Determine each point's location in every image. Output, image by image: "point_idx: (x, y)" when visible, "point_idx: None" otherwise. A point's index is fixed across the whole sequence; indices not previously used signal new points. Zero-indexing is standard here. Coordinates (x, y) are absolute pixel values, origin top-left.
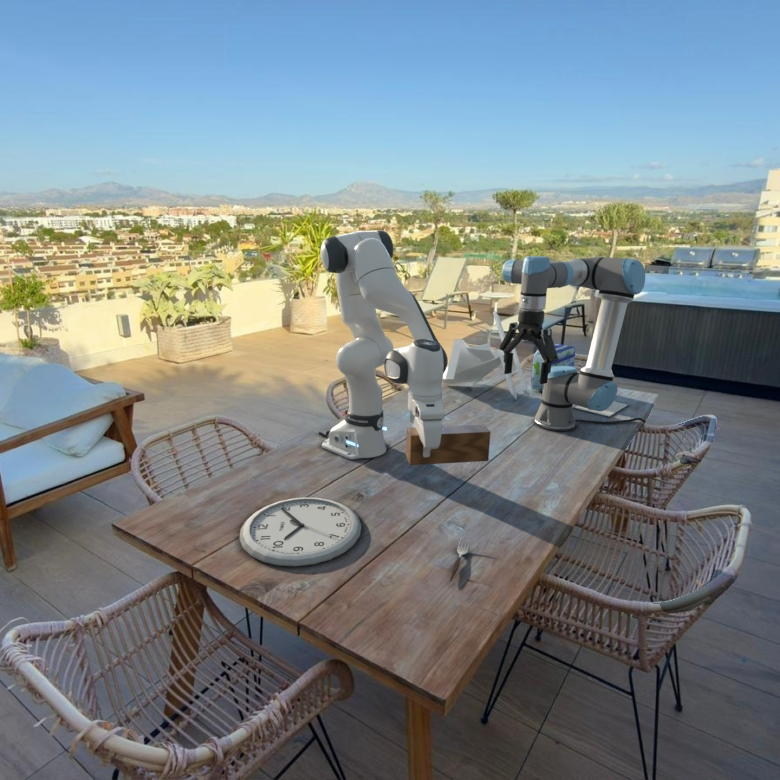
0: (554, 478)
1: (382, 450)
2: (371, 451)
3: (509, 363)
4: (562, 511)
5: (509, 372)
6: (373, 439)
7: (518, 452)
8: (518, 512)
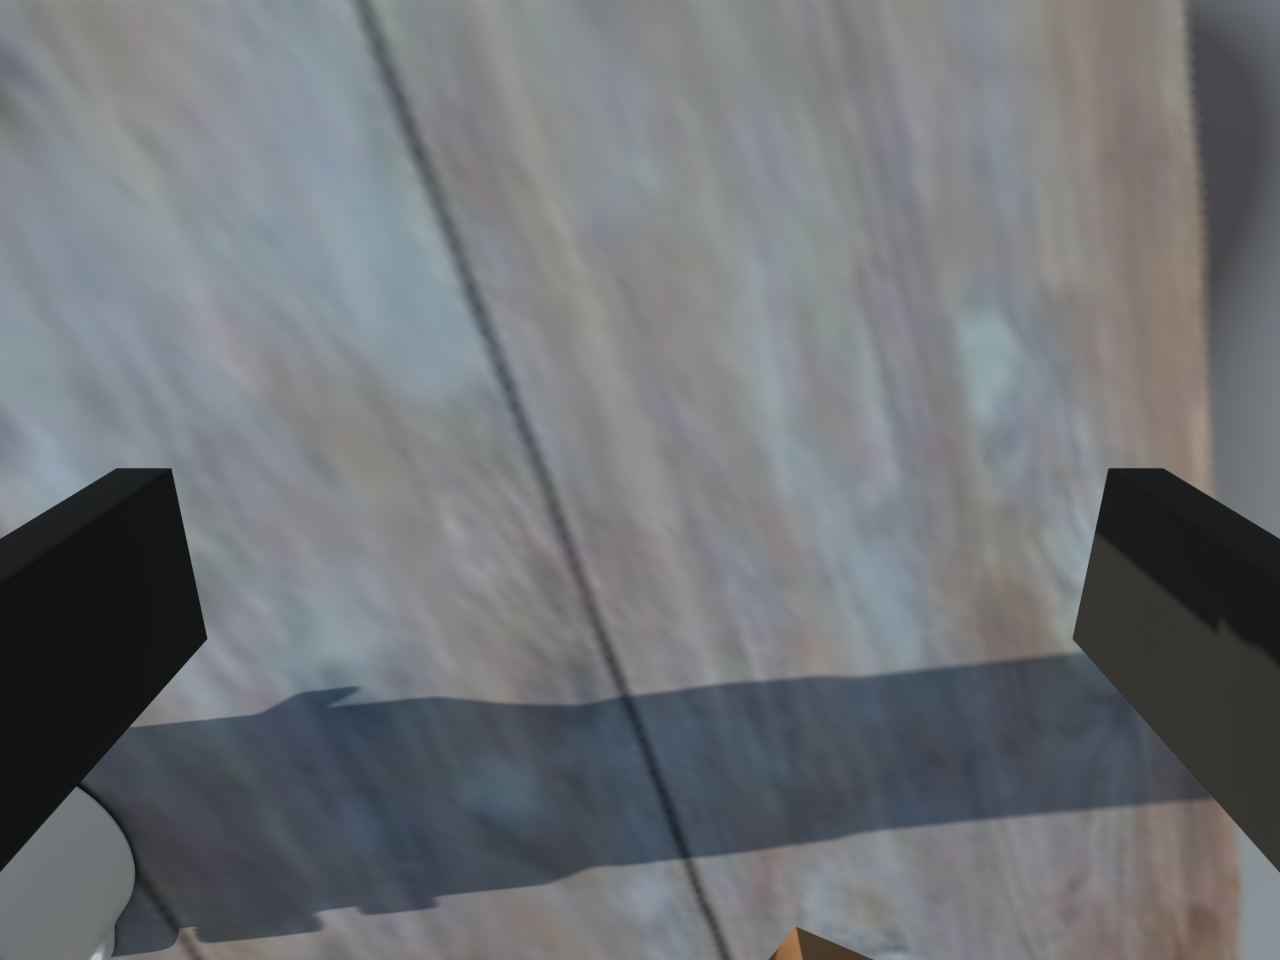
0: (946, 263)
1: (98, 836)
2: (106, 906)
3: (40, 706)
4: None
5: (174, 545)
6: (52, 950)
7: (521, 105)
8: (1000, 721)
